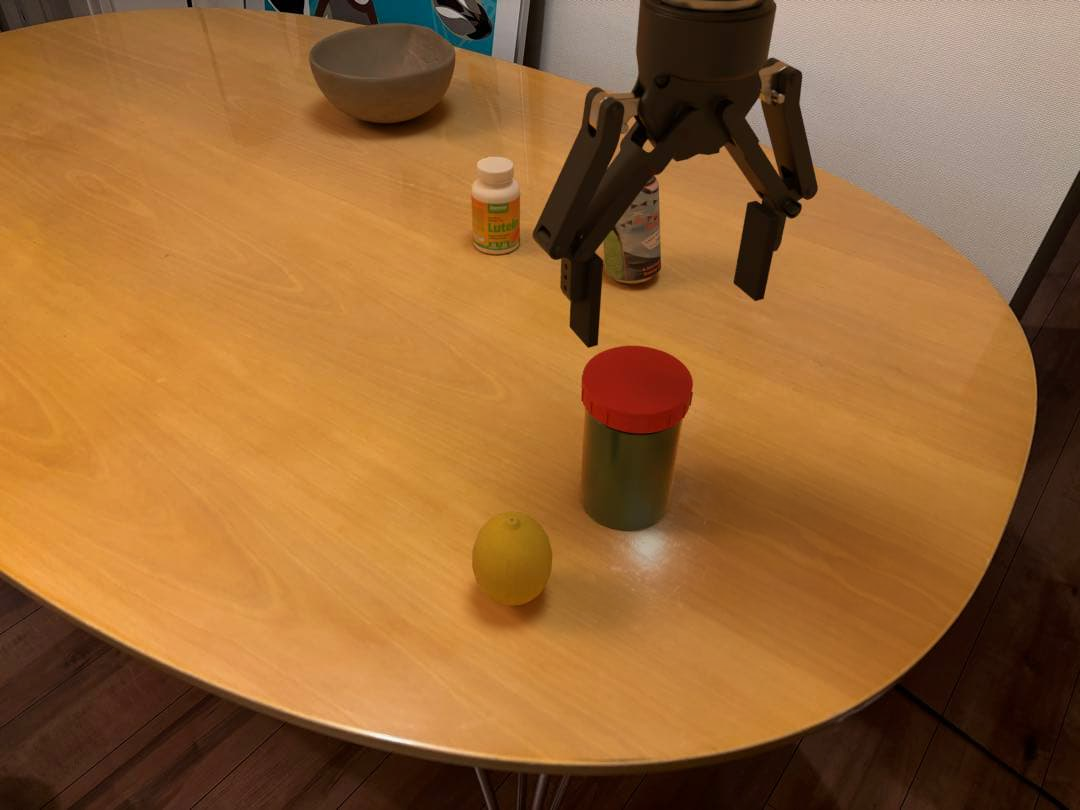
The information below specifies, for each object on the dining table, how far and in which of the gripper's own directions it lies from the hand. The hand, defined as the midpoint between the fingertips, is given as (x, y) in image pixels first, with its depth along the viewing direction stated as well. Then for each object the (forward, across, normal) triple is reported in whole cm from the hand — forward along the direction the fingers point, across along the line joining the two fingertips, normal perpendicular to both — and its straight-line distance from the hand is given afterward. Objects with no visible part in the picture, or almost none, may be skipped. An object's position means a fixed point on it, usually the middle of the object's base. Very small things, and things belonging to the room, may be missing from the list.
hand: (668, 313), depth 62 cm
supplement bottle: (+16, +4, +40) cm, 44 cm away
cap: (+4, -3, -1) cm, 5 cm away
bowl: (+16, +4, +80) cm, 82 cm away
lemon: (+17, -15, -6) cm, 23 cm away
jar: (+16, -3, -1) cm, 17 cm away
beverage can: (+16, +14, +28) cm, 36 cm away
